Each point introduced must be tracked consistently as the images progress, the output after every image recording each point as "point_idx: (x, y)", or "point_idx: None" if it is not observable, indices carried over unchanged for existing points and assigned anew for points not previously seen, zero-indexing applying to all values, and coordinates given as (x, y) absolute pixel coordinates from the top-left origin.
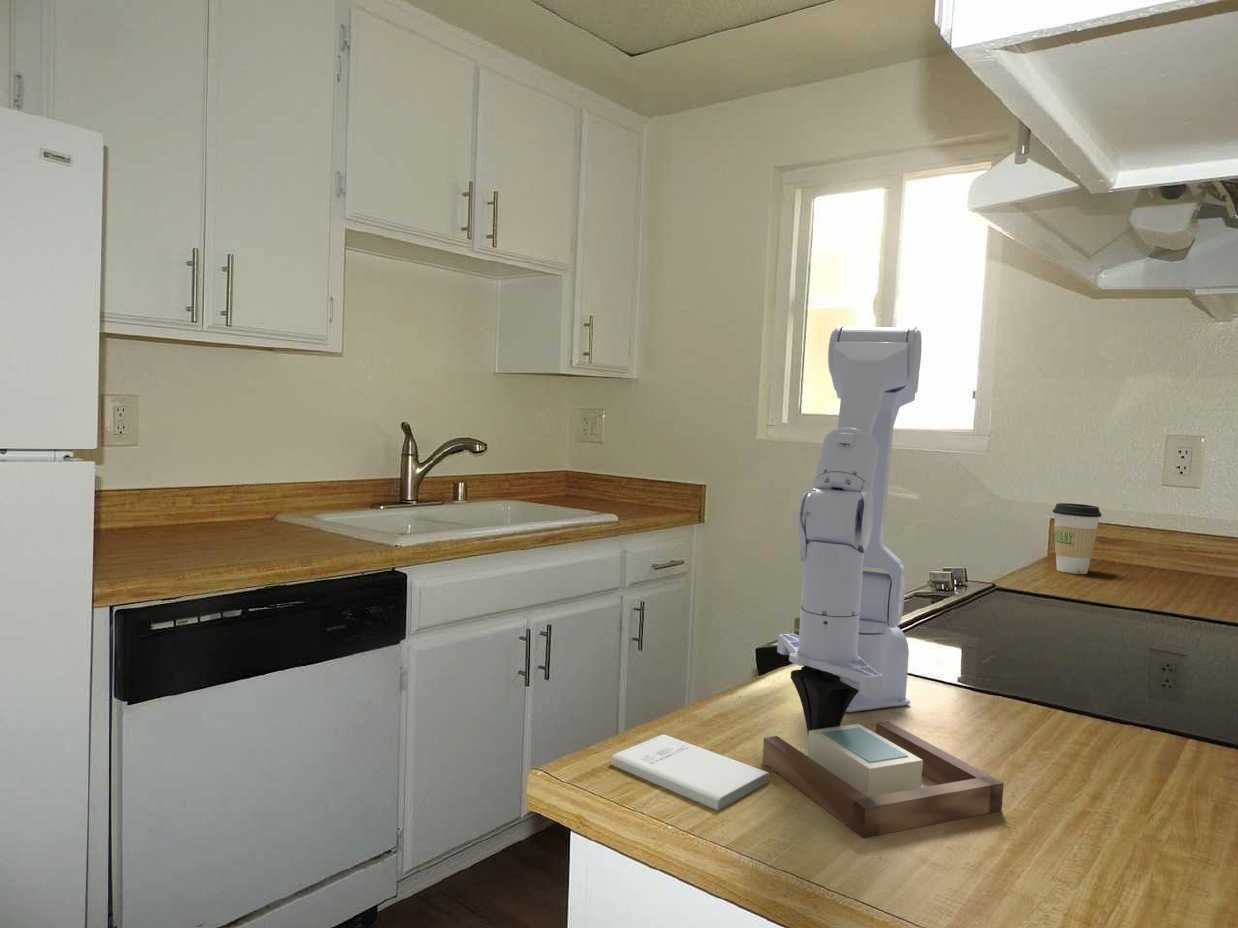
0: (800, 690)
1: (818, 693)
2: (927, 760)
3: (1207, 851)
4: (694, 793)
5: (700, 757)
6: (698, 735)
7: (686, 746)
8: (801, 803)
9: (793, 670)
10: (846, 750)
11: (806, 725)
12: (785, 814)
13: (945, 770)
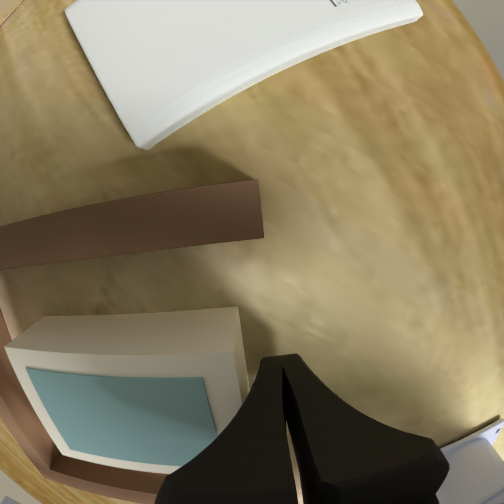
0: (354, 435)
1: (171, 473)
2: (140, 478)
3: (34, 495)
4: None
5: (267, 5)
6: (445, 106)
7: (346, 8)
8: (46, 183)
9: (447, 470)
10: (80, 367)
11: (310, 371)
12: (23, 133)
13: (104, 472)
